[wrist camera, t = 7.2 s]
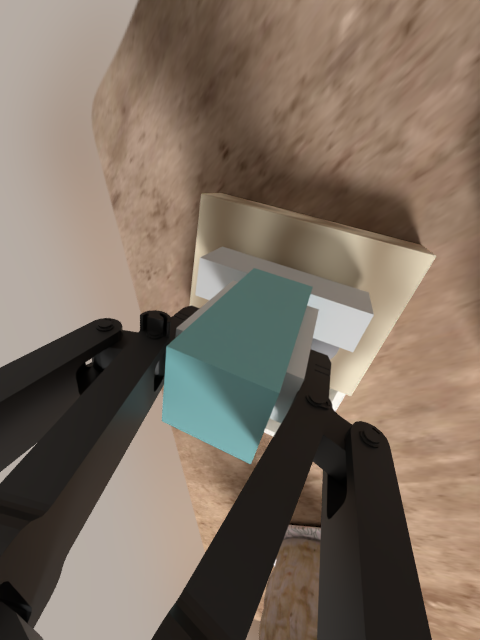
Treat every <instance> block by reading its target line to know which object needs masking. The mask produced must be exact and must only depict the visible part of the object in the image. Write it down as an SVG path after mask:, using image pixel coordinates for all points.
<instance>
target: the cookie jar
mask: <svg viewBox="0 0 480 640" xmlns="http://www.w3.org/2000/svg"><path fill="white" fill-rule="evenodd" d="M320 540H321V528H320V527H307V526H295V525H289V526H288V528H287V531H286V534H285V536H284V539H283V542H282V544H281V547H280V550H279V552H278V555H277V558H276V560H275V563H274V566H275V567H274V570H273V572H272V573H271V575H270V577H269V580H268V583H267V587H266V594H265V599H264V609H263V613H262V617H261V621H260V629H259V640H317V624H318V596H319V568H320Z"/></svg>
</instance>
